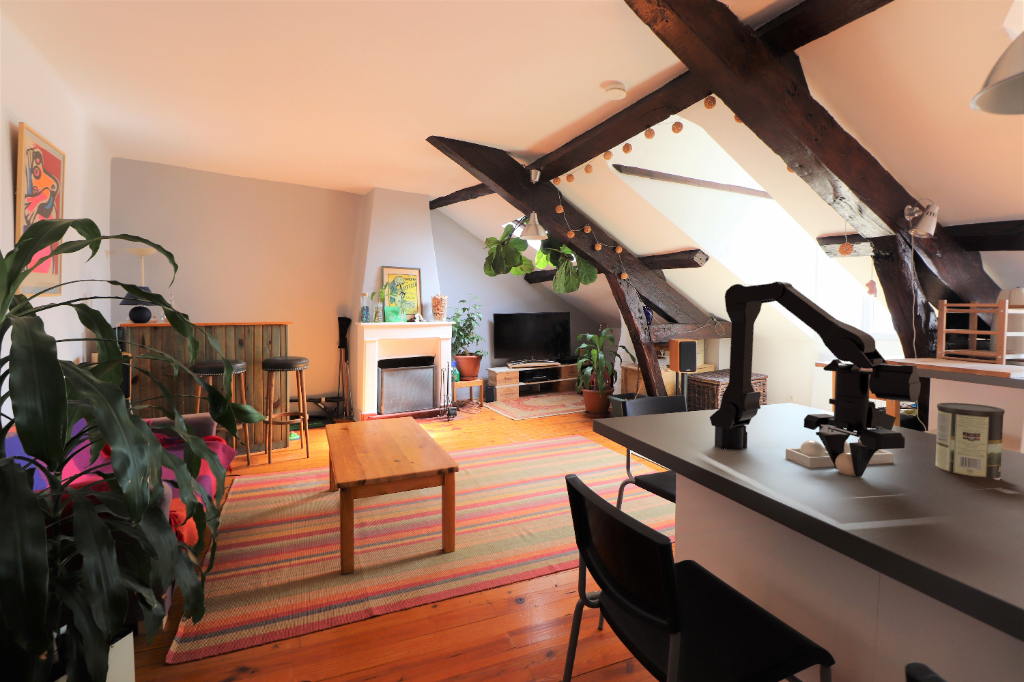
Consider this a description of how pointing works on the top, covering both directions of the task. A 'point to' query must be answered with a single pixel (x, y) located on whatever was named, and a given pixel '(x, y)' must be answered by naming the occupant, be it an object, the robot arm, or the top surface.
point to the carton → (826, 461)
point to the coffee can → (969, 439)
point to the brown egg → (845, 464)
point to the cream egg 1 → (812, 449)
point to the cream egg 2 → (847, 447)
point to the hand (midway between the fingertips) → (848, 472)
